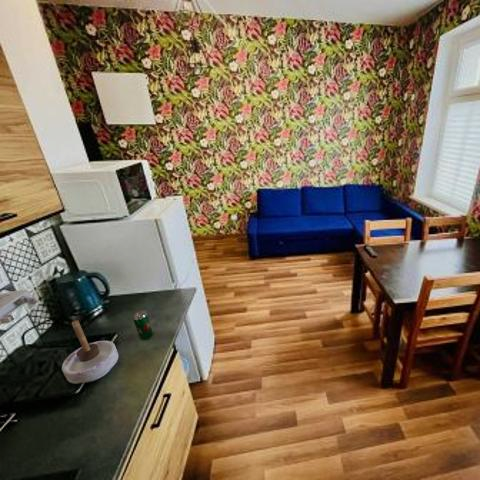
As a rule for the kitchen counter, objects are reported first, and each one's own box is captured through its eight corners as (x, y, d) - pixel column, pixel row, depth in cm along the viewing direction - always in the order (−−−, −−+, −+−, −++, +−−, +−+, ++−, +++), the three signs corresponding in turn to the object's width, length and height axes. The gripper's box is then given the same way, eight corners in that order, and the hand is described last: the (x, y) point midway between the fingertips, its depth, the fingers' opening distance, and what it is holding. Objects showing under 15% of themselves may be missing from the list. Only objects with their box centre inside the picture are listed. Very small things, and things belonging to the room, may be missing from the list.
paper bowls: (90, 394, 91) (82, 377, 87) (58, 383, 94) (49, 367, 91) (130, 360, 104) (125, 344, 101) (101, 351, 108) (95, 336, 105)
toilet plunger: (75, 364, 93) (59, 329, 87) (82, 351, 98) (67, 318, 92) (96, 358, 95) (82, 325, 89) (102, 347, 100) (89, 314, 94)
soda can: (138, 336, 116) (130, 314, 111) (151, 330, 119) (144, 308, 115) (141, 342, 113) (134, 319, 108) (155, 336, 116) (148, 313, 112)
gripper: (6, 302, 94) (51, 298, 96) (-58, 345, 75) (0, 339, 78) (-2, 287, 91) (44, 283, 94) (-70, 328, 73) (-10, 322, 75)
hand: (24, 309), depth 86 cm, fingers open, 8 cm apart
